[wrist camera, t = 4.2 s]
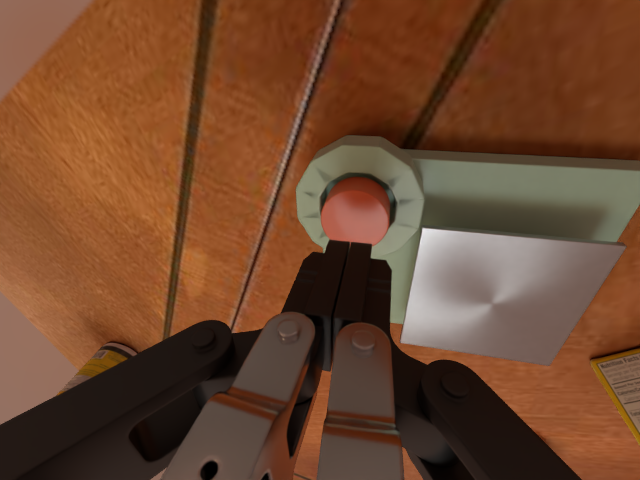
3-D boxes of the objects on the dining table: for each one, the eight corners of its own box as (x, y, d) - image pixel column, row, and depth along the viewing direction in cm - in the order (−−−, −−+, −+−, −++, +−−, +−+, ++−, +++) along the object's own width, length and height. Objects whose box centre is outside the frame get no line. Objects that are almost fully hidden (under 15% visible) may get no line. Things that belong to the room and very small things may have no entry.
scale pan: (399, 338, 19) (399, 342, 18) (421, 224, 14) (422, 227, 14) (547, 361, 17) (549, 366, 17) (623, 242, 13) (627, 246, 13)
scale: (314, 296, 22) (304, 329, 20) (308, 125, 16) (292, 142, 13) (543, 328, 20) (563, 370, 17) (651, 138, 13) (709, 162, 11)
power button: (327, 229, 16) (320, 246, 15) (326, 173, 14) (319, 187, 13) (386, 235, 15) (385, 253, 14) (393, 178, 14) (393, 193, 12)
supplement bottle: (144, 375, 35) (82, 459, 28) (105, 358, 34) (32, 439, 28) (146, 352, 32) (77, 440, 25) (102, 334, 32) (21, 418, 25)
